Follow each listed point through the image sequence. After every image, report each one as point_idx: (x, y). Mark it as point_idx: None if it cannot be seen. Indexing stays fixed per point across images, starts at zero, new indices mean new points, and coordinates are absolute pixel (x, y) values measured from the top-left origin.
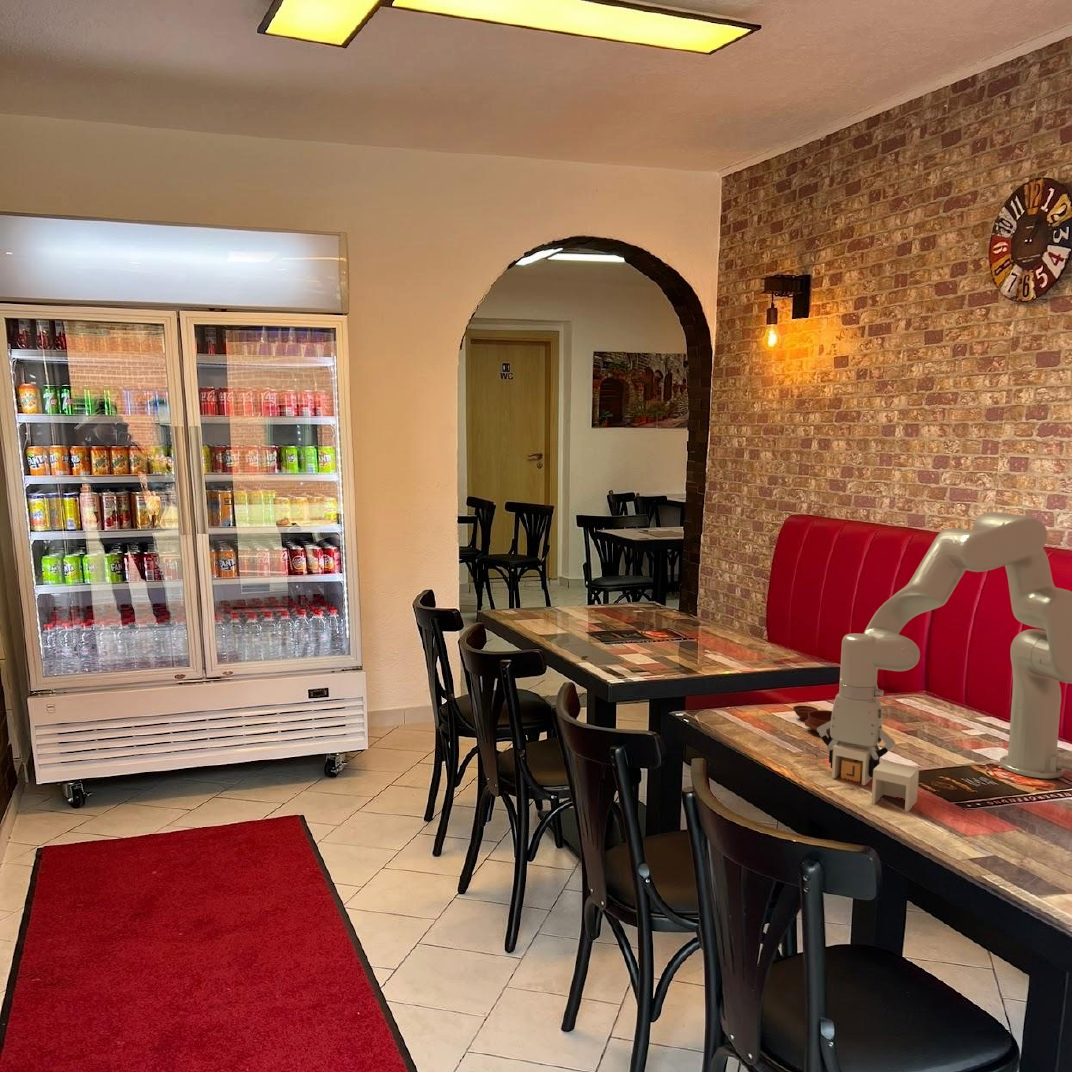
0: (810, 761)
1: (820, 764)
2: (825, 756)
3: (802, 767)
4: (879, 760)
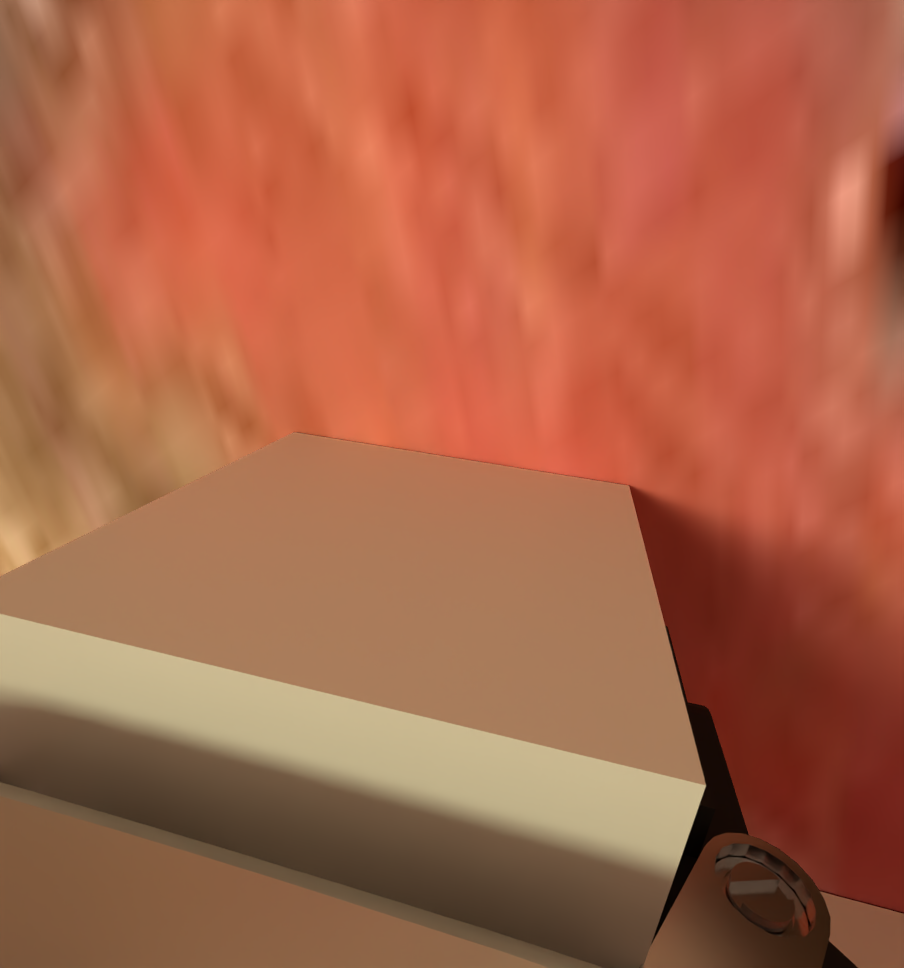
0: (5, 364)
1: (99, 399)
2: (18, 81)
3: (40, 555)
4: (745, 829)
